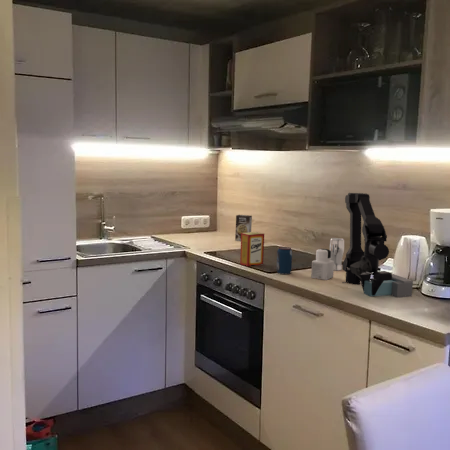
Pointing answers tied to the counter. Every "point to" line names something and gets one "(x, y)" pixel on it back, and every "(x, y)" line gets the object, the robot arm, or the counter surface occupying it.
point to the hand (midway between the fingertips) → (369, 293)
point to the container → (322, 265)
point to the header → (401, 286)
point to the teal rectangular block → (383, 289)
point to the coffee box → (242, 225)
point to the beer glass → (337, 252)
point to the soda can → (284, 260)
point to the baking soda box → (252, 248)
